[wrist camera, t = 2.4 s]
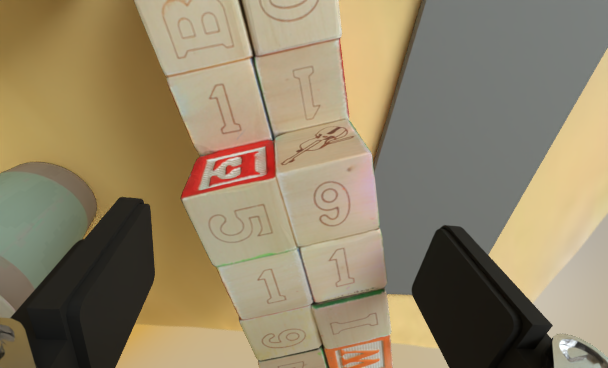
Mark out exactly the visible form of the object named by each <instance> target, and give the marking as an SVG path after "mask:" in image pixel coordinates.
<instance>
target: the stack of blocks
mask: <svg viewBox="0 0 608 368" xmlns="http://www.w3.org/2000/svg"><path fill="white" fill-rule="evenodd" d="M134 2H135V5H136V7H137V10H138V12H139V15H140V17H141V20H142V22H143V24H144V27H145V29H146V31H147V34H148V36H149V39H150V41H151V43H152V46H153V48H154V50H155V53H156V55H157V58H158V60H159V63H160V66H161V68H162V70H163V72H164V74H165V75H166V78H167V83H168V86H169V89H170V91H171V93H172V96H173V99H174V101H175V103H176V106H177V108H178V111H179V113H180V115H181V117H182V120H183V122H184V124H185V127H186V129H187V131H188V134H189V136H190V138H191V141H192V143H193V145H194V147H195V148H196V150H197V152H198V153H199V154H200V157H199V158H198V159H197V160H196V162H195V164H194V166H193V170H192V172H191V174H190V176H189V178H188V181H187V183H186V185H185V188H184V190H183V192H182V195H181V201H182V203H183V205H184V208H185V210H186V212H187V214H188V216H189V218H190V220H191V222H192V224H193V226H194V228H195V230H196V232H197V234H198V235H199V238H200V240H201V242H202V244H203V246H204V249H205V251H206V253H207V255H208V257H209V259H210V261H211V263H212V265H214V266H215V267H216V268H217V270H218V273H219V275H220V278H221V280H222V282H223V284H224V286H225V288H226V290H227V293H228V295H229V296H230V298H231V300H232V303H233V305H234V307H235V309H236V311H237V313H238V315H239V322H240V324H241V327H242V329H243V331H244V333H245V335H246V337H247V339H248V342H249V344H250V346H251V348H252V350H253V352H254V354H255V356H256V358H257V359H258V365H259V367H260V368H393V362H392V352H391V340H390V334H391V324H390V316H389V307H388V300H387V293H386V290H385V286H386V284H387V273H386V266H385V256H384V247H383V238H382V233H381V230H380V227H379V225H380V220H379V211H378V202H377V193H376V184H375V176H374V168H373V157H372V153H371V151H370V150H369V149H368V147H367V146H366V144H365V143H364V141H363V140H362V138H361V137H360V135H359V134H358V132H357V131H356V129H355V128H354V126H353V125H352V123H351V122H350V121H349V111H348V102H347V94H346V86H345V78H344V69H343V60H342V52H341V44H340V38H341V35H342V30H341V20H340V10H339V0H134Z"/></svg>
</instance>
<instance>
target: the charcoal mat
mask: <svg viewBox="0 0 608 368" xmlns="http://www.w3.org/2000/svg"><path fill="white" fill-rule="evenodd" d="M607 48H608V0H422V2H421V6H420V9H419V12H418V16H417V19H416V22H415V26H414V29H413V32H412V36H411V39H410V43H409V46H408V49H407V53H406V56H405V59H404V63H403V66H402V69H401V73H400V76H399V80H398V83H397V86H396V90H395V93H394V96H393V100H392V103H391V106H390V110H389V113H388V117H387V120H386V123H385V127H384V130H383V133H382V137H381V140H380V143H379V147H378V150H377V154H376V157H375V160H374V164H373V168H374V176H375V184H376V193H377V202H378V211H379V220H380V225H379V227H380V230H381V233H382V238H383V247H384V256H385V266H386V273H387V284H386V286H385V290H386V293H387V294H406V295H412V285H413V283H414V280H415V278H416V276H417V273H418V271H419V269H420V266H421V264H422V262H423V259H424V257H425V255H426V252H427V250H428V248H429V245H430V243H431V241H432V238H433V236H434V234H435V232H436V230H437V229H440V228H441V227H442V226H443V225H450V226H460V227H462V228H463V229H464V230H465V231H466V232H467V233H468V234H469V235H470V236H471V237H472V238H473V239H474V241H475V242H476V243H477V244H478V245H479V246H480V247H481V248H482V249H483V250H484V251H485V252H486V254H487V255H488V254H489V253H490V251H491V249H492V247H493V246H494V244H495V242H496V240H497V239H498V237H499V235H500V233H501V232H502V230H503V228H504V227H505V225H506V223H507V221H508V220H509V218H510V216H511V214H512V213H513V211H514V209H515V207H516V206H517V204H518V202H519V201H520V199H521V197H522V195H523V194H524V192H525V190H526V188H527V187H528V185H529V183H530V181H531V180H532V178H533V176H534V174H535V173H536V171H537V169H538V168H539V166H540V164H541V162H542V161H543V159H544V157H545V155H546V154H547V152H548V150H549V148H550V147H551V145H552V143H553V141H554V140H555V138H556V136H557V135H558V133H559V131H560V129H561V128H562V126H563V124H564V122H565V121H566V119H567V117H568V115H569V114H570V112H571V110H572V108H573V107H574V105H575V103H576V102H577V100H578V98H579V96H580V95H581V93H582V91H583V89H584V88H585V86H586V84H587V82H588V81H589V79H590V77H591V75H592V74H593V72H594V70H595V69H596V67H597V65H598V63H599V62H600V60H601V58H602V56H603V55H604V53H605V51H606V49H607Z"/></svg>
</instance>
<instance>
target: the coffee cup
mask: <svg viewBox="0 0 608 368" xmlns="http://www.w3.org/2000/svg"><path fill="white" fill-rule="evenodd" d="M96 211H97V204H96V199H95V196H94V194H93V192H92V191H91V189H90V188H89V186H88V185H87V184H86V183H85V182H84V181H83V180H82V179H81V178H79V177H78V176H77V175H75V174H74V173H72V172H71V171H69V170H67V169H65V168H62V167H60V166H57V165H54V164H49V163H43V162H30V163H24V164H21V165H18V166H16V167H14V168H11V169H9V170H7V171H4V172H2V173H0V318H11V316H12V315H13V314H14V313H15V312H16V311H17V310H18V308H19V307H20V306H21V305H22V304H23V303H24V302H25V300H26V299H27V298H28V297H29V296H30V295H31V293H32V292H33V291H34V290H35V289H36V288H37V287H38V285H39V284H40V283H41V282H42V281H43V280H44V279H45V277H46V276H47V275H48V274H49V273H50V272H51V271H52V269H53V268H54V267H55V266H56V265H57V264H58V263H59V261H60V260H61V259H62V258H63V257H64V256H65V255H66V253H67V252H68V251H69V250H70V249H71V248H72V246H73V245H74V244H75V243H76V242H78V241H79V240H82V238H83V237H84V235H85V233H86V231H87V230H88V228H89V226H90V224H91V223H92V221H93V219H94V217H95V215H96Z"/></svg>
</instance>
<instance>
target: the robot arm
mask: <svg viewBox="0 0 608 368" xmlns="http://www.w3.org/2000/svg"><path fill="white" fill-rule="evenodd" d="M154 276H155V268H154V254H153V240H152V225H151V211H150V205H149V204H144V201H143V200H142V199H138V198H126V197H120V198H119V199H118V200H117V201H116V203H115V204H114V205H113V206H112V207H111V208H110V210H109V211H108V212H107V213H106V214H105V216H104V217H103V218H102V219H101V220H100V221H99V223H98V224H97V225H96V226H95V227H94V228H93V230H92V231H91V232H90V233H89V234H88V236H87V237H86V238H85V239H82V240H79V241H78V242H76V243H75V244H74V245H73V246H72V248H71V249H70V250H69V251H68V252H67V253H66V255H65V256H64V257H63V258H62V259H61V260H60V261H59V263H58V264H57V265H56V266H55V267H54V268H53V269H52V271H51V272H50V273H49V274H48V275H47V276H46V277H45V279H44V280H43V281H42V282H41V283H40V284H39V285H38V287H37V288H36V289H35V290H34V291H33V292H32V293H31V295H30V296H29V297H28V298H27V299H26V300H25V302H24V303H23V304H22V305H21V306H20V307H19V308H18V310H17V311H16V312H15V313H14V314H13V315H12V316H11V318H0V368H115V367H116V365H117V363H118V360H119V358H120V356H121V354H122V351H123V349H124V347H125V345H126V342H127V340H128V338H129V336H130V333H131V331H132V329H133V327H134V325H135V322H136V320H137V318H138V316H139V313H140V311H141V309H142V307H143V304H144V302H145V300H146V298H147V295H148V293H149V291H150V289H151V286H152V284H153V281H154ZM412 295H413V298H414V300H415V302H416V304H417V305H418V307H419V309H420V311H421V313H422V315H423V317H424V319H425V321H426V323H427V325H428V327H429V329H430V331H431V333H432V335H433V337H434V339H435V341H436V343H437V344H438V346H439V348H440V350H441V352H442V354H443V356H444V358H445V360H446V362H447V364H448V366H449V368H608V358H607V357H606V356H605V355H604V354H603V353H602V352H601V351H599V350H598V349H597V348H595V347H594V346H593V345H591V344H589V343H587V342H586V341H584V340H582V339H580V338H577V337H575V336H572V335H568V334H557V335H555V336H554V337H553V338H552V339H551V338H550V337H549V336H548V334H547V332H548V331H549V330H550V328H551V327H552V324H551V323H550V322H549V321H548V320H547V319H546V318H545V317H544V316H543V315H542V313H540V311H539V310H538V309H537V308H536V307H535V306H534V305H533V304H532V302H531V301H530V300H529V299H528V298H527V297H526V296H525V295H524V294H523V293H522V292H521V291H520V289H519V288H518V287H517V286H516V285H515V284H514V283H513V282H512V281H511V280H510V279H509V277H508V276H507V275H506V274H505V273H504V272H503V271H502V270H501V269H500V268H499V267H498V266H497V264H496V263H495V262H494V261H493V260H492V259H491V258H490V257H489V256H488V255H487V254H486V252H485V251H484V250H483V249H482V248H481V247H480V246H479V245H478V244H477V243H476V242H475V241H474V239H473V238H472V237H471V236H470V235H469V234H468V233H467V232H466V231H465V230H464V229H463V228H462V227H460V226H450V225H443V226H442V227H441V228H440V229H437V230H436V232H435V234H434V236H433V238H432V241H431V243H430V245H429V248H428V250H427V252H426V255H425V257H424V259H423V262H422V264H421V266H420V269H419V271H418V273H417V276H416V278H415V280H414V283H413V285H412Z"/></svg>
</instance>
